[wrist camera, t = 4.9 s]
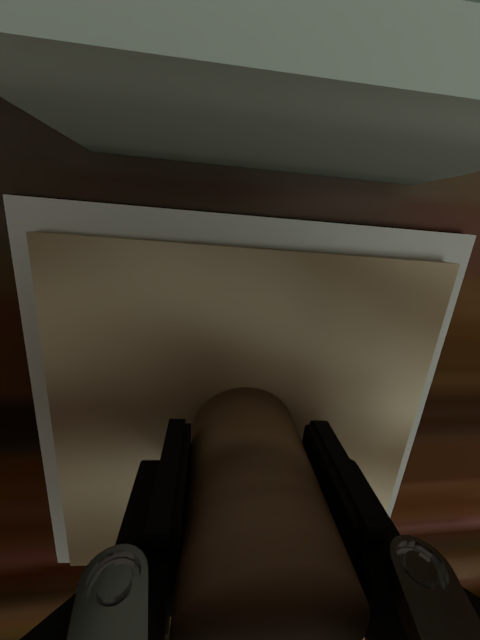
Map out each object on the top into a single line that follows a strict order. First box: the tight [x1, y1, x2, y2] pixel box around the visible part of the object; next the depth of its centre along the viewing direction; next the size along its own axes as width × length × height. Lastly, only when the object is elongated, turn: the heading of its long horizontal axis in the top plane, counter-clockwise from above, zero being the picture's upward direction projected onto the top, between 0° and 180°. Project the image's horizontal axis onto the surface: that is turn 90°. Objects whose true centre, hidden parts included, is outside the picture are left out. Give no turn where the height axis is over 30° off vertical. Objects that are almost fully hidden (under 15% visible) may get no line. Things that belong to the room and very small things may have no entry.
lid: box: [26, 231, 460, 640], centre depth 9 cm, size 14×14×7 cm
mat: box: [3, 194, 476, 563], centre depth 13 cm, size 16×16×1 cm
